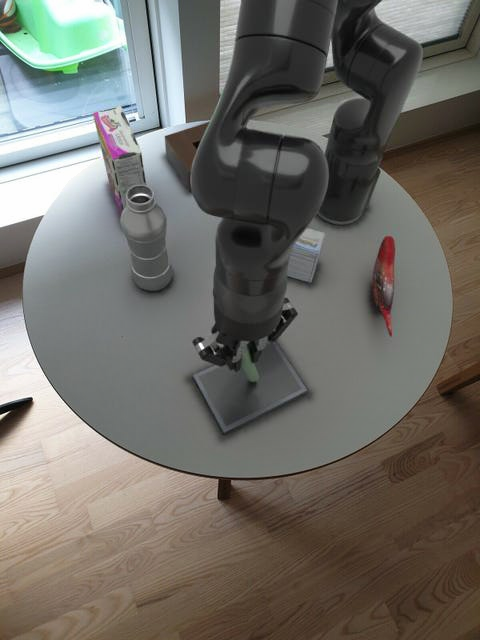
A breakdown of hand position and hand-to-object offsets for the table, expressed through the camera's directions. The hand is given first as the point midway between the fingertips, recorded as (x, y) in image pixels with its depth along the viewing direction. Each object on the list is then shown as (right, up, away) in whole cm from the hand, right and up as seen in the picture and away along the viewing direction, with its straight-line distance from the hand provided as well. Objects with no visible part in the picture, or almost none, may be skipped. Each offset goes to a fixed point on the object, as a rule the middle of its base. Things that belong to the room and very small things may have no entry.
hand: (243, 360), depth 72 cm
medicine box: (+8, +14, +21) cm, 27 cm away
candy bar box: (-20, +26, +26) cm, 42 cm away
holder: (-8, +35, +32) cm, 48 cm away
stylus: (+2, -3, +9) cm, 9 cm away
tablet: (+1, -4, +9) cm, 10 cm away
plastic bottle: (-15, +12, +18) cm, 26 cm away
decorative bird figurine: (+22, +7, +18) cm, 29 cm away
